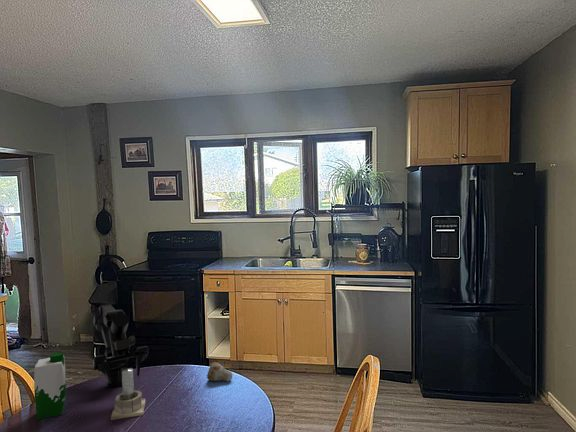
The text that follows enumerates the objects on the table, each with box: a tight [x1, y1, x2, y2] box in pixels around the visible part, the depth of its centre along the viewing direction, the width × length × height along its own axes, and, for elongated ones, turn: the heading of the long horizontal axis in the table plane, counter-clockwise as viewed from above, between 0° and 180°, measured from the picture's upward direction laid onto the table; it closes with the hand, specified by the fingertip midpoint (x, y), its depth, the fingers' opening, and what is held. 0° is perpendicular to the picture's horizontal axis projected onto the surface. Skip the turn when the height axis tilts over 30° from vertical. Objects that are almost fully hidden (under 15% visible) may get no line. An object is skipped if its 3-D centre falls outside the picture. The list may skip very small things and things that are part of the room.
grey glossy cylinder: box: [121, 367, 135, 400], centre depth 132 cm, size 4×4×13 cm
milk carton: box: [33, 351, 67, 420], centre depth 132 cm, size 9×9×20 cm
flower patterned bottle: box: [206, 361, 233, 382], centre depth 155 cm, size 8×10×10 cm
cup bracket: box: [110, 389, 146, 421], centre depth 133 cm, size 10×10×5 cm
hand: (125, 379), depth 137 cm, fingers open, 9 cm apart
